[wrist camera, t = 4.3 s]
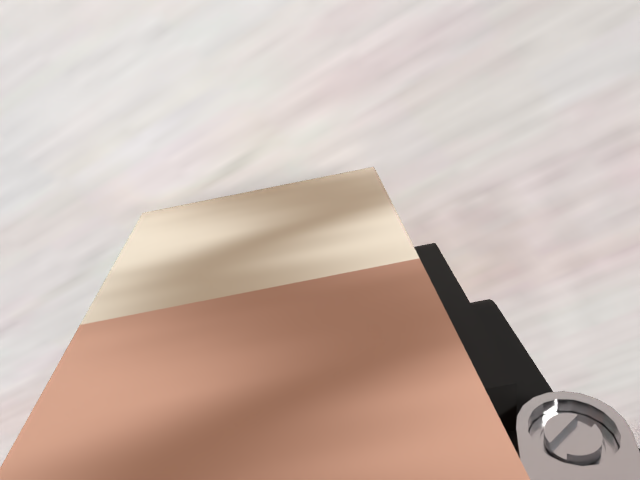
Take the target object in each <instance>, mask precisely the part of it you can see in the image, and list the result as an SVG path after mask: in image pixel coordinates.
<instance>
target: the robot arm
mask: <svg viewBox="0 0 640 480" xmlns="http://www.w3.org/2000/svg"><path fill="white" fill-rule="evenodd" d="M414 248H415V250H416V252H417V254H418V256H419V258H420V260H421V262H422V264H423V266H424V268H425V270H426V272H427V274H428V276H429V278H430V280H431V282H432V284H433V286H434V288H435V290H436V292H437V294H438V296H439V298H440V300H441V302H442V304H443V306H444V308H445V310H446V312H447V314H448V316H449V318H450V320H451V322H452V324H453V326H454V328H455V330H456V332H457V334H458V336H459V338H460V340H461V342H462V344H463V346H464V348H465V350H466V352H467V354H468V356H469V358H470V360H471V362H472V364H473V366H474V368H475V370H476V372H477V374H478V376H479V378H480V380H481V382H482V384H483V386H484V388H485V390H486V392H487V394H488V396H489V398H490V400H491V402H492V404H493V406H494V408H495V410H496V412H497V414H498V416H499V418H500V420H501V422H502V424H503V426H504V428H505V430H506V432H507V434H508V436H509V438H510V440H511V442H512V444H513V446H514V448H515V450H516V452H517V454H518V456H519V458H520V460H521V462H522V464H523V466H524V468H525V470H526V472H527V474H528V476H529V478H530V480H640V449H639V448H638V446H637V443H636V440H635V438H634V435H633V432H632V430H631V429H630V427H629V425H628V424H627V422H626V420H625V419H624V418H623V417H622V416H621V415H620V414H619V413H618V412H617V411H616V410H614V409H613V408H612V407H610V406H609V405H607V404H605V403H603V402H602V401H600V400H598V399H596V398H593V397H590V396H587V395H584V394H581V393H574V392H565V391H560V392H553V391H552V389H551V388H550V386H549V385H548V383H547V382H546V380H545V379H544V377H543V376H542V374H541V373H540V371H539V370H538V368H537V366H536V365H535V363H534V362H533V360H532V359H531V357H530V356H529V354H528V353H527V351H526V350H525V348H524V347H523V345H522V344H521V342H520V340H519V339H518V337H517V336H516V334H515V333H514V331H513V330H512V328H511V327H510V325H509V324H508V322H507V321H506V319H505V317H504V316H503V314H502V313H501V311H500V310H499V308H498V307H497V305H496V304H495V303H494V302H493V301H492V300H490V299H488V300H483V301H478V302H473V303H470V302H469V300H468V299H467V297H466V295H465V293H464V292H463V290H462V288H461V286H460V285H459V283H458V281H457V279H456V278H455V276H454V274H453V273H452V271H451V269H450V267H449V266H448V264H447V262H446V260H445V259H444V257H443V255H442V254H441V252H440V250H439V248H438V247H437V245H436V244H435V243H432V244H427V245H422V246H417V247H414Z"/></svg>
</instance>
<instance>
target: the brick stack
mask: <svg viewBox="0 0 640 480" xmlns="http://www.w3.org/2000/svg"><path fill="white" fill-rule="evenodd" d="M0 480H530V478H529V476H528V474H527V472H526V470H525V468H524V466H523V464H522V462H521V460H520V458H519V456H518V454H517V452H516V450H515V448H514V446H513V444H512V442H511V440H510V438H509V436H508V434H507V432H506V430H505V428H504V426H503V424H502V422H501V420H500V418H499V416H498V414H497V412H496V410H495V408H494V406H493V404H492V402H491V400H490V398H489V396H488V394H487V392H486V390H485V388H484V386H483V384H482V382H481V380H480V378H479V376H478V374H477V372H476V370H475V368H474V366H473V364H472V362H471V360H470V358H469V356H468V354H467V352H466V350H465V348H464V346H463V344H462V342H461V340H460V338H459V336H458V334H457V332H456V330H455V328H454V326H453V324H452V322H451V320H450V318H449V316H448V314H447V312H446V310H445V308H444V306H443V304H442V302H441V300H440V298H439V296H438V294H437V292H436V290H435V288H434V286H433V284H432V282H431V280H430V278H429V276H428V274H427V272H426V270H425V268H424V266H423V264H422V262H421V260H420V258H419V256H418V254H417V252H416V250H415V248H414V246H413V244H412V242H411V240H410V238H409V236H408V234H407V232H406V230H405V228H404V226H403V224H402V222H401V220H400V218H399V216H398V214H397V212H396V210H395V208H394V206H393V204H392V202H391V200H390V198H389V196H388V194H387V192H386V190H385V188H384V186H383V184H382V182H381V180H380V178H379V176H378V174H377V172H376V170H375V168H374V167H371V168H366V169H361V170H356V171H351V172H346V173H341V174H336V175H331V176H326V177H321V178H316V179H311V180H306V181H301V182H296V183H291V184H286V185H281V186H276V187H271V188H266V189H261V190H256V191H251V192H246V193H241V194H236V195H231V196H226V197H221V198H216V199H211V200H206V201H201V202H196V203H191V204H186V205H181V206H175V207H170V208H165V209H160V210H155V211H150V212H145V213H142V215H141V217H140V218H139V220H138V222H137V224H136V226H135V227H134V229H133V231H132V233H131V235H130V236H129V238H128V240H127V242H126V243H125V245H124V247H123V249H122V251H121V252H120V254H119V256H118V258H117V260H116V261H115V263H114V265H113V267H112V269H111V270H110V272H109V274H108V276H107V278H106V279H105V281H104V283H103V285H102V287H101V288H100V290H99V292H98V294H97V295H96V297H95V299H94V301H93V303H92V304H91V306H90V308H89V310H88V312H87V313H86V315H85V317H84V319H83V321H82V322H81V324H80V326H79V328H78V330H77V331H76V333H75V335H74V337H73V339H72V340H71V342H70V344H69V346H68V347H67V349H66V351H65V353H64V355H63V356H62V358H61V360H60V362H59V364H58V365H57V367H56V369H55V371H54V373H53V374H52V376H51V378H50V380H49V382H48V383H47V385H46V387H45V389H44V391H43V392H42V394H41V396H40V398H39V399H38V401H37V403H36V405H35V407H34V408H33V410H32V412H31V414H30V416H29V417H28V419H27V421H26V423H25V425H24V426H23V428H22V430H21V432H20V434H19V435H18V437H17V439H16V441H15V443H14V444H13V446H12V448H11V450H10V451H9V453H8V455H7V457H6V459H5V460H4V462H3V464H2V466H1V468H0Z"/></svg>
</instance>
